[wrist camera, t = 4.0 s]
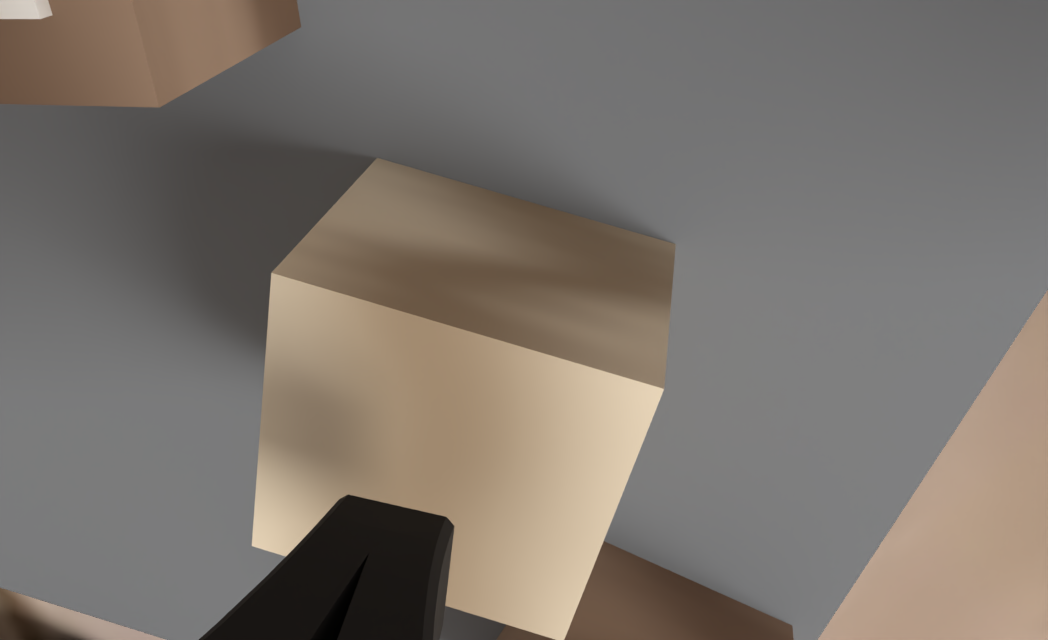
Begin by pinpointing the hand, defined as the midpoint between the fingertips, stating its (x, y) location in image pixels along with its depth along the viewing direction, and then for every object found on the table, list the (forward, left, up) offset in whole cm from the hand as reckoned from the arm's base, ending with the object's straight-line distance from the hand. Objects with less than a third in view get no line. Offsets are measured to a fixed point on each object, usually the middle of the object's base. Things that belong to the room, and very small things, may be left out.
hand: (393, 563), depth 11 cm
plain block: (0, 0, -6) cm, 6 cm away
